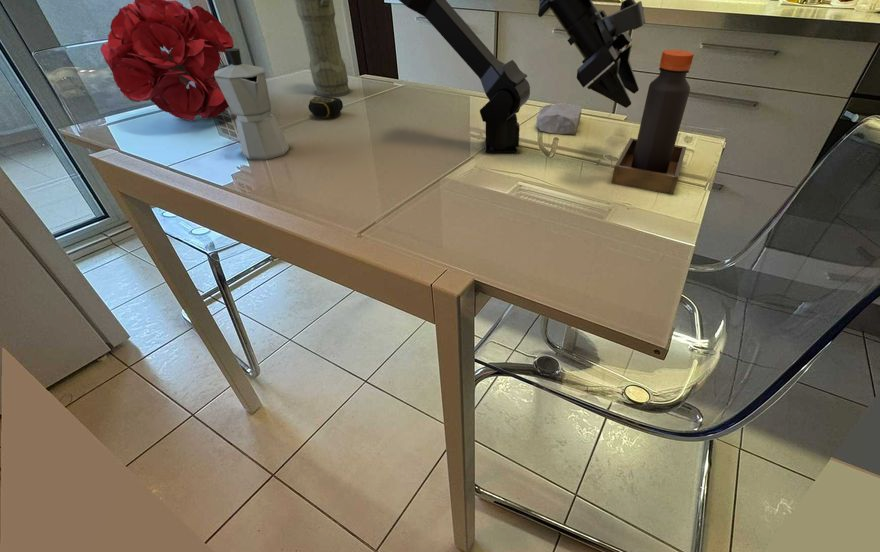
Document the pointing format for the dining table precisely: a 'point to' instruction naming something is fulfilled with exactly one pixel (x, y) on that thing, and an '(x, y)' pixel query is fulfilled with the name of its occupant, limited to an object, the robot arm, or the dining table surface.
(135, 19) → the bouquet
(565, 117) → the stone block
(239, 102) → the coffee maker
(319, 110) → the tape measure
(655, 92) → the vinegar
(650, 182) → the tray
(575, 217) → the dining table surface
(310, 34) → the greenish beige column
